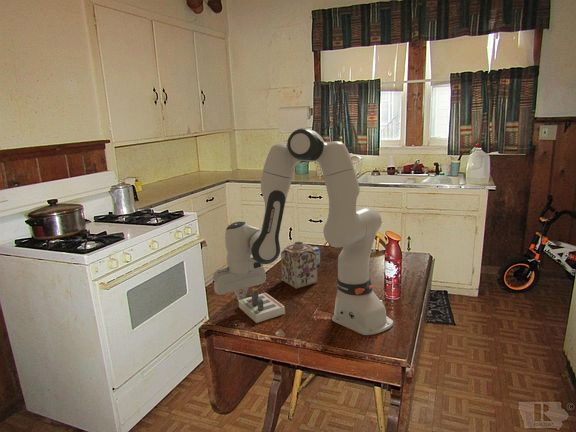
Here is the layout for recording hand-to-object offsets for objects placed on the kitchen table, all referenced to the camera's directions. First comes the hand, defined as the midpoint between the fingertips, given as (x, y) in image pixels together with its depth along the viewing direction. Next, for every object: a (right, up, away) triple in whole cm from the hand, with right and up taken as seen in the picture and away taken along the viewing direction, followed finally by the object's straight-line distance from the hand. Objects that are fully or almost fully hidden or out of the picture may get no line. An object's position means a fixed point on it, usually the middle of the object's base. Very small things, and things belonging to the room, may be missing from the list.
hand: (241, 298), depth 160 cm
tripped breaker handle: (+5, -1, +3) cm, 6 cm away
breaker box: (+8, -4, 0) cm, 9 cm away
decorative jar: (+23, +2, +25) cm, 34 cm away
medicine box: (+29, +7, +44) cm, 53 cm away
